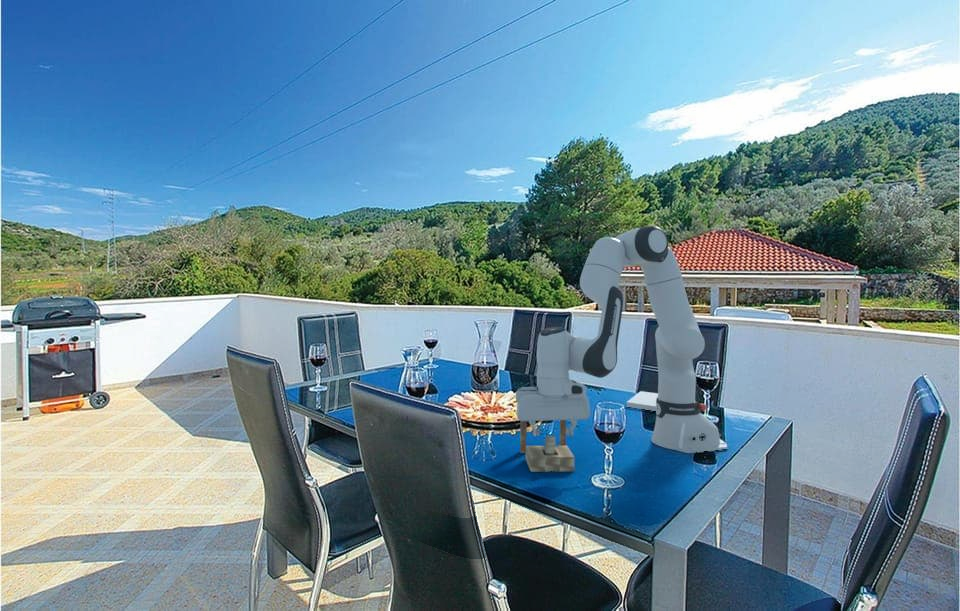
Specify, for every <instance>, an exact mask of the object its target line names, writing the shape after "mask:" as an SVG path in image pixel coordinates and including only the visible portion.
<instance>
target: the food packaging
mask: <svg viewBox="0 0 960 611" xmlns="http://www.w3.org/2000/svg"><path fill="white" fill-rule="evenodd" d="M657 397H658V392H648V391H643V390H640V391H639V392H637V393H636V394H635V395H634V396H632V397H631V398H629V400H627V401H626V406H627V407H633V408H639V409H645V410H651V411H650V412H652V411H656V398H657ZM627 407H626V408H627ZM633 408H632V409H633ZM639 409H638V410H639ZM645 410H644V411H645Z"/></svg>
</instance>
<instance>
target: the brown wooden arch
mask: <svg viewBox="0 0 960 611" xmlns="http://www.w3.org/2000/svg"><path fill="white" fill-rule="evenodd" d="M527 422H528V421H520V434H519V435H520V438H519V440H520V443H519V448H520V451H519V452H520V454H526V446H527ZM558 442H559V443H558V444H559V445H558V446H567V443H566V442H567V420H559V441H558Z"/></svg>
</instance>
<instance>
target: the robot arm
mask: <svg viewBox="0 0 960 611" xmlns="http://www.w3.org/2000/svg"><path fill="white" fill-rule="evenodd" d="M676 257H677V256H675V253H674V252H673V250H672V249H671V247H670V246H669V241H668V236H667V235H666V233H665V231H664V230H663V229H662V228H661V227H659V226H657V225H644V226H641V227H636V228H633V229H629V230H627V231H625V232H623V233H620V234H618V235H615V236H612V237H611V236H605V237H604V236H603V237H601V238H599V239H597V240H596V241H595V243H594V244H593V246H592V247H591V250H590V252H589V254H588V256H587V259H586V260H585V263H584V266H583V269H582V271H581V274H580V278H579V286H580V289H581V291H582V293H583V294H584V296H586V297H587V298H588V299H589V300H591V301H593V302H595V303H596V304H598V305H599V306H600V308H601V313H600V319H599V320H600V321H599V325H598V331H597V336H596V337H594V338H593V339H592V338H585V337H577V336H575V335H573V334H571V333H570V332H568V330H567V328H565V327H563V326H550V327H546V328H543V329H542V330H541V331H539V334H538V337H537V341H536V342H537V344H536V362H537V373H536V386H528V387H526V386H522V387H520V388H518V389H517V390H516V392H515V401H516V402H517V403H516V413H515V414H516V418H517V419H518V420H519V421H520V422H521V421H527V422H529V425H530V427H531V428H532V434H533V437H540V429H539V428H536V427H535V425H536V421H537V422H543V421H560V420H566V421H570V422H571V423H570V425H569V427H568V426H567V427H566V436H573V435H574V429H575V428H576V426H577V425H578V421H579V420H588V419H589V418H590V416H591V406H590V404H591V403H590V399H589V397H588V395H586V394H587V387H586V386H585V384H584V383H582V382H579V381H577V380H573V379H570V373H569V371H573V372H576V373H581V374H587V375H589V376H591V377H595V378H598V379H600V378H605V377H607V376H608V375H609V374H610V373H612V372H613V371H614V370H615V368H616V366H617V363H618V341H619V334H620V328H621V322H622V315H623V306H624V295H623V292H622V290H621V289H620V287H619V286H620V285H619V284H620V279H621V276H622V272H623V269H625V268H631V267H637V266H639V267H640V268H641V269H642V272H643V278H644V282H645V283H644V284H645V287H646V291H647V296H648V300H649V304H650V306H651V310H652V312H653V314H654V317H655V319H656V321H657V325H658V327H657V328H656V330H655V333H654V337H655V338H654V339H655V350H656V352H655V353H656V362H657V363H656V364H657V370H658V371H657V372H658V374H657V376H658V378H657V379H658V384H657V393H658V397H657V398H656V412H655V415H656V417H655V424H654V428H653V432H652V435H651V438H650V441H651V442H652V443H653V444H654V445H655V446H656V445H657V446H659V447H662V448H665V449H669V450H674V451H678V452H682V453H684V454H685V453H686V454H696V452H697V453H704V451H708V452H716V451H715V450H719V451H722V450H721V449H727V450H728V444H727V443H726V441H724V440H723V439H721V438H720V432H719V429H718V427H717V426H716V425H715V423H713V422H712V421H711V420H709V418H707V417H706V416H705V415H704V414H703V413H701V411H703V412H704V411H705V412H706V410H707V409H708V406H707V405H706V404H704V402H703V403H700V402H699V401H697V400H696V386H697V384H696V382H697V381H696V380H697V378H696V374H695V369H694V362H693V360H694V359H697V358H698V357H699V356H700V355H701V354H703V352H704V350H705V347H706V344H705V337H704V335H703V334H702V333H701V331H700V330H701V329H700V328H699V325H698V324H699V323H698V322H697V319H696V317H695V314H694V311H693V309H692V307H691V305H690V301H689V299H688V295H687V291H686V288H685V284H684V283H685V282H684V279H683V276H682V275H683V274H682V271H681V268H680V265H679V262H678V260H677V258H676ZM700 410H701V411H700Z"/></svg>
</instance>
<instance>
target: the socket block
mask: <svg viewBox="0 0 960 611" xmlns="http://www.w3.org/2000/svg"><path fill="white" fill-rule="evenodd" d="M525 461H526V463H527V466H528V469H529V471H531V472H534V473H535V472H537V473H538V472H540V473H541V472H547V473H548V472H550V471H552V472H553V471H554V472H575V456H574V454H573V453H572V451H571V449H570V448H569V446H568V445H566V446H559V445H555V455H545V445H526V453H525ZM550 473H551V472H550Z"/></svg>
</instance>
